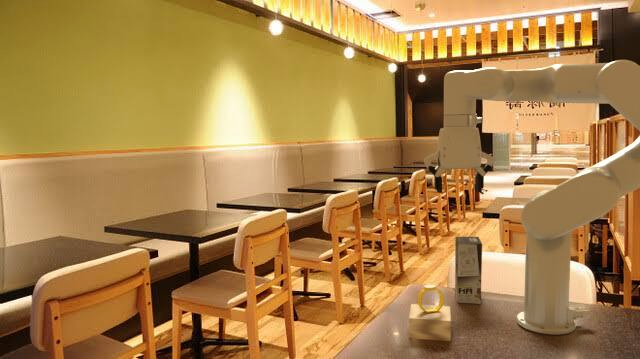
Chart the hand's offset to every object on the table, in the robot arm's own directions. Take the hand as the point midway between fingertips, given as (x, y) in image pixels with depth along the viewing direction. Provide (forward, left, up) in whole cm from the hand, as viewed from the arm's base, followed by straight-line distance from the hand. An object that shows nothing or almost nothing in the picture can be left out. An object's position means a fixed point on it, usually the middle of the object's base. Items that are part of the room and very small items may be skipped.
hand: (458, 192), depth 128 cm
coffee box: (-5, -9, -31) cm, 32 cm away
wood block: (+10, +13, -31) cm, 35 cm away
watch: (+9, +13, -26) cm, 30 cm away
